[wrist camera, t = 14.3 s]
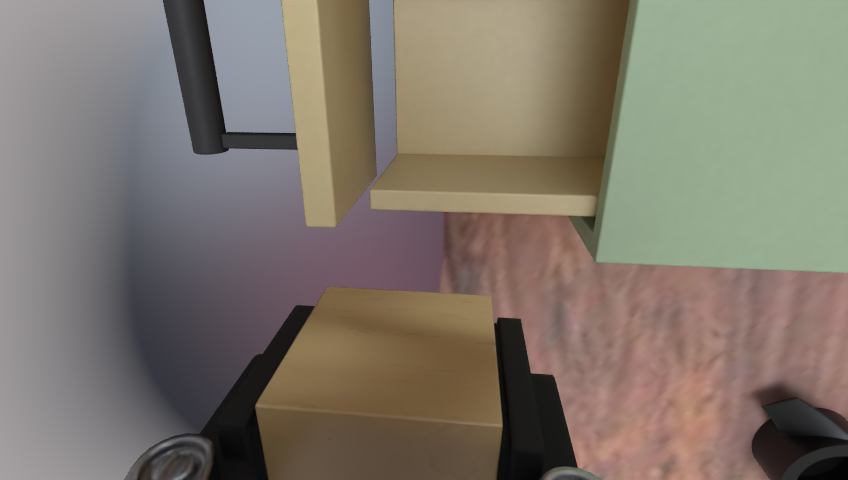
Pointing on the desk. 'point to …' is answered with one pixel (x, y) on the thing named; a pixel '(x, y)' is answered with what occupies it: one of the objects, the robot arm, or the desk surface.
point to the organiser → (728, 138)
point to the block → (386, 390)
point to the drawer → (432, 103)
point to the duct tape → (802, 442)
